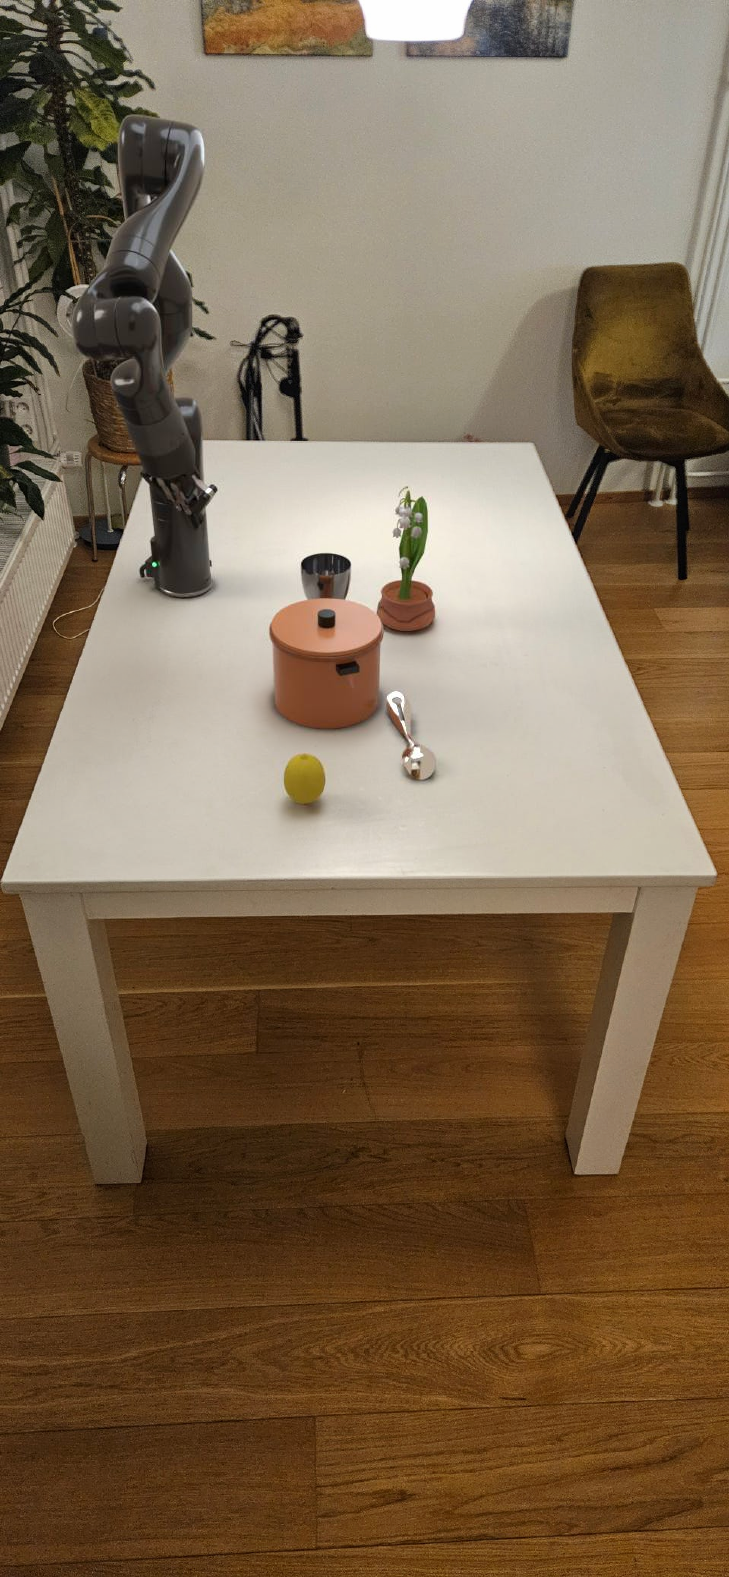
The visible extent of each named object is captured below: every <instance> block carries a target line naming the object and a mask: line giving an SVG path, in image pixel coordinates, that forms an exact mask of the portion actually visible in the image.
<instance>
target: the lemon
mask: <svg viewBox="0 0 729 1577" xmlns="http://www.w3.org/2000/svg"><path fill="white" fill-rule="evenodd" d="M283 786H284V789H285V791H286V794H287V795H288V797H289V798H290V799H291V800H293V802H296V803H298V804H303V805H306V804H311V803H314V802H315V801H317V800H318V799H319V798H320V797H321V796H322V794H323V793H324V790H325V787H326V773H325V769H324V766H323V764H322V762H321V760H320V759H319V758H318V757H316V756H315V755H314V754H310V753H299V754H296V755H294V756H292V757H291V758H290V760H289V761H287V764H286V766H285V769H284V773H283Z"/></svg>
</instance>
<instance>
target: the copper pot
mask: <svg viewBox="0 0 729 1577" xmlns="http://www.w3.org/2000/svg"><path fill="white" fill-rule="evenodd" d="M268 633H269V640H270V641H271V643H272V668H273V669H272V670H273V671H272V672H273V694H274V696H273V698H274V706H275V708H276V710H277V711H278V712H279V714H280V715H282V716H283V717H284V718H285V719H287V720H289V721H291V722H292V723H294V724H296V725H299V726H304V727H306V728H312V729H323V730H325V729H327V730H329V729H330V730H332V729H340V728H346V727H350V726H353V725H357V724H359V723H361V722H364V721H365V720H367V719H368V718H370V717H371V716H372V715H373V714H374V713H375V712H376V710H377V708H378V706H379V701H380V674H381V648H382V647H381V645H382V644H381V643H382V642H383V639H384V636H385V635H384V634H385V629H384V624H383V623H382V622H381V620H380V618H379V617H378V615H377V612H375V611H374V610H372V609H371V608H370V607H368V606H366V605H364V604H361V603H358V602H355V601H351V600H347V599H345V600H342V599H332V598H320V599H310V600H307V599H305V600H300V601H296V602H293V603H291V604H289V605H287V606H284V607H283V608H281V609H280V610H279V611H277V612H276V614H275V615H274V616H273V618H272V620H271V622H270V624H269V628H268Z"/></svg>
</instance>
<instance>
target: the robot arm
mask: <svg viewBox="0 0 729 1577" xmlns="http://www.w3.org/2000/svg"><path fill="white" fill-rule="evenodd" d="M118 130H119V131H118V138H117V164H118V173H119V182H120V190H121V192H120V193H121V200H122V207H123V215H124V222H123V223H121V224H120V226H119V227H118V228H117V230H116V232H115V233H114V235H113V237H112V238H111V242H110V245H109V248H108V252H107V255H106V257H105V261H104V264H103V268H102V269H101V270H100V271H99V272H98V274H96V276H94V279H92V281H91V282H90V283H89V285H88V286H87V287H86V289H85V290H84V291H83V292H82V294H81V296H80V297H79V299H78V300H77V302H76V305H75V307H74V309H73V313H72V317H71V336H72V339H73V342H74V344H75V346H76V348H77V349H78V351H79V352H80V353H81V354H82V355H83V356H84V357H85V358H87V359H89V360H93V361H97V362H98V361H99V362H101V361H102V362H103V361H121V360H125V361H123V362H121V363H119V365H117V366H116V367H115V368H114V369H113V371H112V373H111V376H110V387H111V391H112V394H113V396H114V398H115V401H116V403H117V405H118V408H119V410H120V412H121V414H122V417H123V419H124V423H125V428H126V430H127V434H128V435H129V438H130V440H131V442H132V445H133V447H134V449H135V452H136V454H137V457H138V459H139V461H140V465H141V466H142V468H143V469H142V470H141V471H140V472H139V475H140V476H141V478H142V479H143V480H144V481H145V482H146V483H147V484H148V488H149V489H148V490H149V497H150V498H149V499H150V508H151V516H152V517H151V518H152V526H153V534H154V535H152V537H150V539H149V542H150V543H149V544H150V554H151V555H150V556H149V557H148V558H147V559H146V560H145V561H144V564H141V566H140V567H139V570H138V571H139V572H138V573H139V577H140V578H141V579H144V578H150V579H153V583H154V589H155V590H158V591H159V590H160V591H161V592H162V593H163V594H165V595H166V596H170V597H174V598H192V597H197V596H200V595H204V594H205V593H207V592H208V591H209V590H211V588H212V586H213V582H212V573H211V568H212V567H213V562H212V560H211V559H210V546H209V532H208V519H207V507H208V505H209V504H210V502H211V501H212V500H213V498H214V496H215V495H216V493H217V492H218V491H219V489H218V487H217V486H216V485H215V484H212V483H211V484H210V485H207V484H206V483H205V471H204V470H205V469H204V431H203V430H204V429H203V420H202V413H201V410H200V406H199V405H198V403H197V401H196V399H194V398H193V397H192V396H175V397H174V394H173V392H172V389H171V386H170V384H169V381H168V379H167V375H168V373H169V371H170V370H171V369H172V367H173V365H174V364H175V362H176V361H177V360H178V358H179V357H180V355H181V354H182V352H183V351H184V349H185V348H186V346H187V344H188V341H189V339H190V337H191V335H192V331H193V288H192V284H191V280H190V278H189V276H188V274H187V272H186V271H185V269H184V267H183V264H182V263H181V261H180V259H179V258H178V256H177V255H176V253H175V251H174V250H173V249H172V248H173V246H174V243H175V241H176V239H177V237H178V235H179V234H180V232H181V230H182V228H183V226H184V224H185V222H186V221H187V219H188V217H189V215H190V213H191V211H192V209H193V207H194V205H195V202H196V201H197V198H198V197H199V193H200V191H201V187H202V184H203V180H204V175H205V166H206V149H205V141H204V137H203V134H202V132H201V130H200V129H199V128H198V127H197V126H195V125H193V124H190V123H188V122H184V121H179V120H174V119H167V118H160V117H156V116H151V115H144V114H128V115H126V116H125V117H124V118H123V119H122V121H121V123H120V126H119V129H118ZM151 197H153V198H154V197H155V198H154V199H152V200H151Z"/></svg>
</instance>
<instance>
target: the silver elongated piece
mask: <svg viewBox="0 0 729 1577" xmlns="http://www.w3.org/2000/svg"><path fill="white" fill-rule="evenodd" d="M394 699H399V700H401V702H400V708H401V711H402V716H403V719H404V720H401V718H400V713H399V709H398V706H397V704H396V703H394V702H393V700H394ZM385 703H386V708H387V711H388V713H389V716H390V718H391V721H392V722H393V724H394V725H395V727H396V729H397V730H398V731H399V732H400V734H402V735H403V736H404V737H405V738H406V739H407V746H406V747H405V749H404V750H403V751H402V753H401V760H402V763H403V765H404V768H405V769H406V771H407V773H408V774H409V775H410V776H411V777H412V778H414V779H416V780H419V781H421V780H422V781H423V780H426V779H428V778H429V777H431V776H432V774H433V773H434V771H435V769H436V765H437V758H436V756H435V753H434V752H433V751H432V750H431V749H429V748H428V747H426V746H425V745H422V744H420V743H419V742H418V741H417V740H415V739H414V737H413V735H412V729H411V728H412V727H411V724H412V722H411V718H412V715H411V705H410V702H409V698H408V697H407V696H406V694H404V693H403V692H399V691H393V692H391V693H390V694H388V695H387V697H386V702H385Z"/></svg>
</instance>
